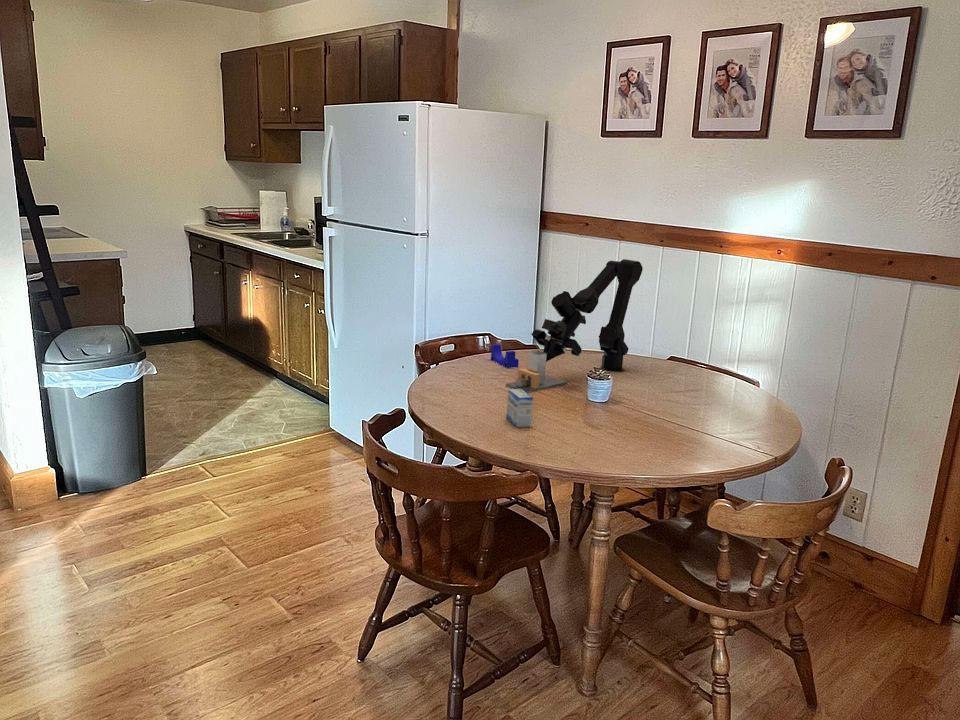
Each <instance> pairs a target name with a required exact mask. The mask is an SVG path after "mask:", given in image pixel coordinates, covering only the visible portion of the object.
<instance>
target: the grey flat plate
mask: <svg viewBox="0 0 960 720" xmlns="http://www.w3.org/2000/svg"><path fill="white" fill-rule="evenodd" d="M515 384H516V381H513V382H509V383H505V387H507V388H509V387H510V388H509V389H512V388H513V389H522V390H523V391H525V392H526V393H527V394H530V393H533V392H538V390H539V391H543V390H547V388H548V389H552V388H556V387H562V386H564V385H565V384H566V385H568V381H566V380H562V379H560V378H557V377H555V376H551V375H548V374H547V375H546V374H545V383H543V384H539V387H538V388H532V387H531V385H529V386H524V387H519V386H516V385H515ZM529 392H530V393H529Z"/></svg>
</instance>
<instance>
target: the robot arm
mask: <svg viewBox="0 0 960 720" xmlns="http://www.w3.org/2000/svg"><path fill="white" fill-rule="evenodd" d="M643 270H644V269H643V266H642V263H641V261H639V260H638V261H637V260H633V259H632V260H631V259H626V258H623V259H621V261H618V260H617V261H615V260H608V261H607V262H606V264H605V267H604V268H603V269H602V270H601V271H600V272H599V273H598V275H597V276H596V277H595V278H594V279H593V280H592V282H590V284H589V285H588V286H587V287H586V288H584V289H581V290H579V291H578V292H576V294H575V295H574V296H573V297H572V296H571V293H570V292H569V291H565V290H563V291H562V293H558V294H556V295H555V296H553V297H552V299H551V305H552V307H553V308H554V309H555V311H556V312H557V314H558V315H559V316H560V317H562V319H561V320H558V321H554V320H551V319H547V318H544V320H543V324H542V326H541V329H544V330H541V329H534V330H533V331H532V332H531V336H532V337H533V338H534V340H535V342H536V343H537V344H538V345H539V346H543V351H542V352H543V353H547V355H546V363H548V361H551V360H552V359H554V358H557V357H558V356H561V355H565V354H566V352H565V351H566V350H567V349H569V350H571V352H570V354H571V355H573V356H576V357H579V356H580V354H581V353H582V347H581V346H580V344H579V343H578V340H576V339H574V338H575V336H576V333H575V332H576V330H577V328H578V327H579V326H580V324H583V325H586V324H587V319H586V315H583V314H582V313H585V314H591V313H593V312H594V311H595V310H596V307H597V306H598V304H599V298H600V296H601V295H602V294H603V293H604V292H605V291H606V289H607V288H608V286H609V285H610V284H611V283H612V282H613V281H614V280H615V279H616V277H617V282H618V284H617V289H616V293H615V295H614V296H615V297H614V301H613V305H612V309H611V313H610V317H609V320H608V322H607V324H606V325H605V326H601V328H600V333H599V335H598V338H599V339H598V343H599V347H600V351H603V355H602V356H601V366H600V367H602V369H603V370H605V371H606V370H607V372H608V371H609V372H623V371H624V368H623V364H624V363H623V362H624V356H625V355H627V354H628V352H629V349H630V348H629V347H628V345H627V344H626V342H625V331H624V328H623V326H624V322H625V318H626V314H627V310H628V306H629V302H630V299H631V294H632V291H633V287H634V286H635V285H637V283H638V282H639V281H640V278H641V275H642V273H643ZM545 330H546V331H547V333H546V331H545Z"/></svg>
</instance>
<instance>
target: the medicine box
mask: <svg viewBox="0 0 960 720" xmlns="http://www.w3.org/2000/svg"><path fill="white" fill-rule="evenodd" d="M506 402H507V403H506V416H505V417H506V419H507V420H508V421H509V422H510V423H511V422H512V423H511V424H512V425H514V426H515V427H516V428H529V427H531V426H532V421H533V405H534V397H533V396H531V395H530V393H526V392H525V391H523V390H522V389H512V388H511V389H508V390H507V401H506Z"/></svg>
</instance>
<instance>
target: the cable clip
mask: <svg viewBox="0 0 960 720" xmlns="http://www.w3.org/2000/svg"><path fill="white" fill-rule="evenodd" d="M501 346H502V345H501V344H499V343H495V344H491V347H490V348H491V350H490V351H491V352H490V361H492V360H493V361H492V362H494V361H495V362H494V363H496V362H497V363H496V364H498V363H499V364H498V365H500V366H502V365H503V366H505V367H507V368H506V369H510V368H509V367H516V368H519V361H520V360H519V359H518V358H516V351H515V350H507V351H505V354H504V355H503V352H502V347H501ZM503 366H502V367H503ZM505 367H504V368H505Z"/></svg>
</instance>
